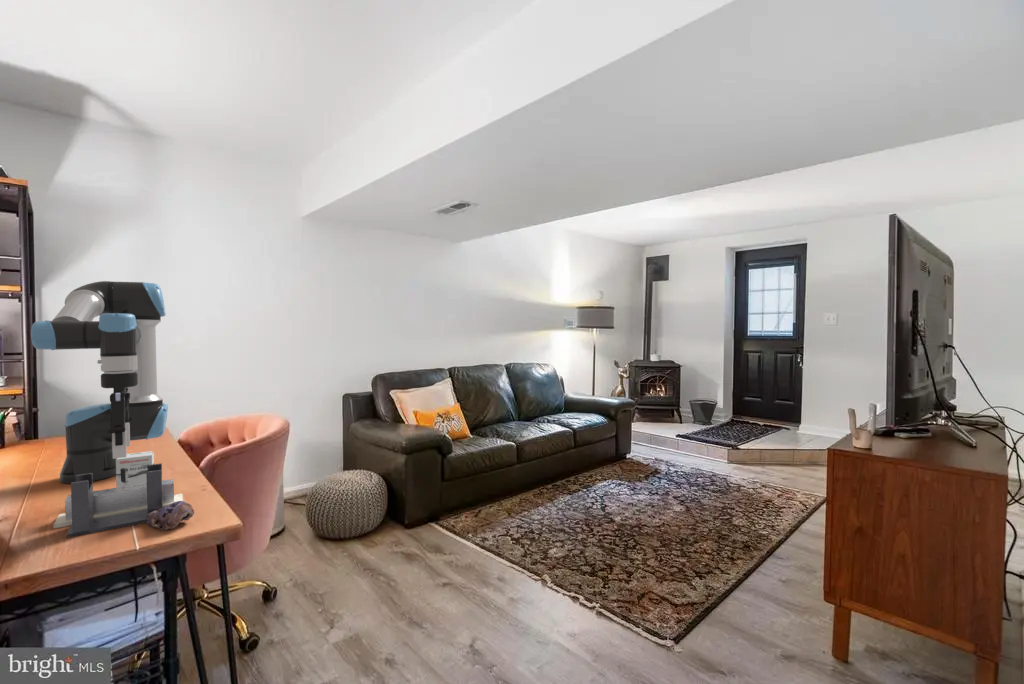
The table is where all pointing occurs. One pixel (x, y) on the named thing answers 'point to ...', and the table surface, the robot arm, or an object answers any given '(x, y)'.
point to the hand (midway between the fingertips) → (121, 452)
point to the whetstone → (122, 498)
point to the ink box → (133, 468)
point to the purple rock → (170, 515)
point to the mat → (62, 517)
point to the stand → (87, 524)
